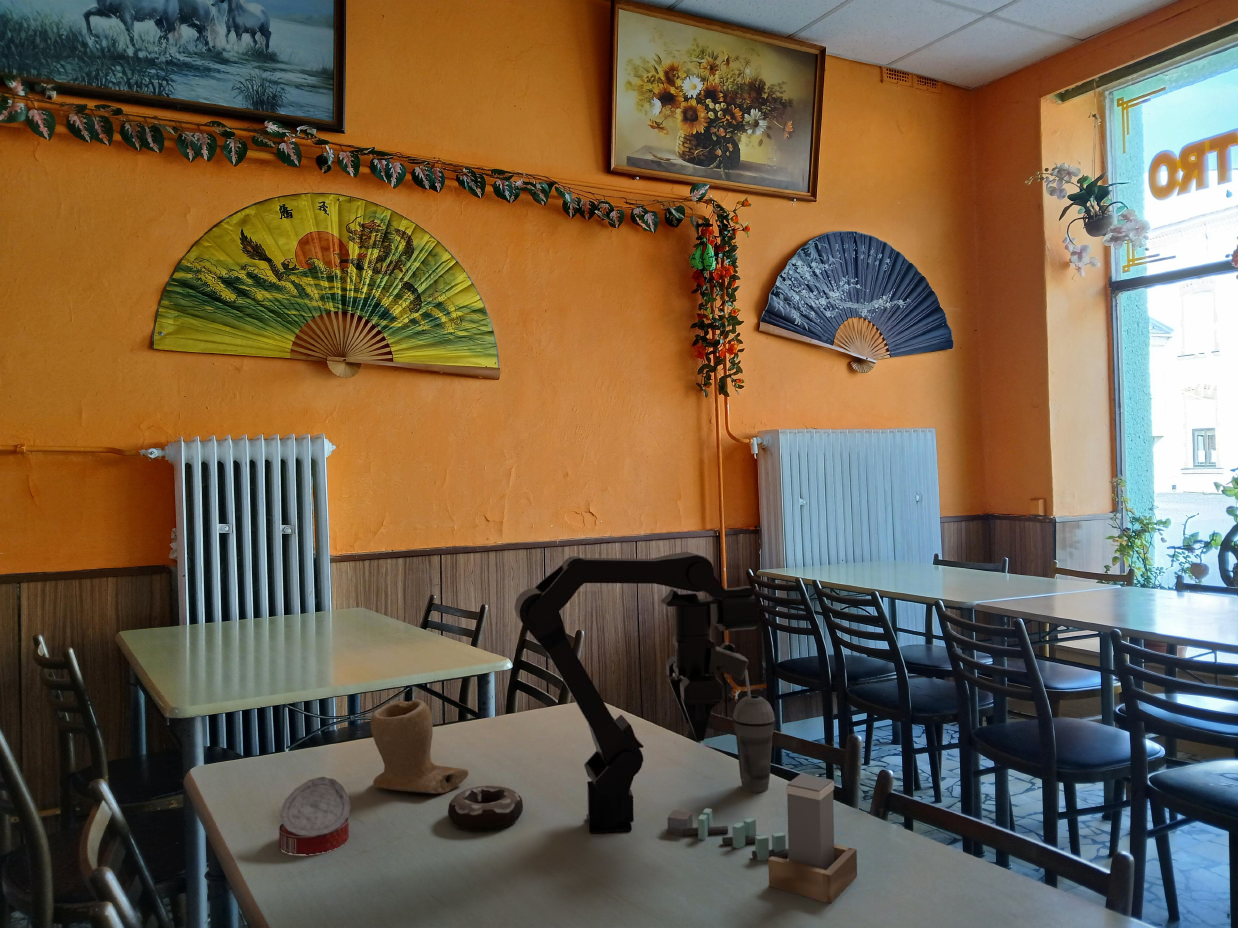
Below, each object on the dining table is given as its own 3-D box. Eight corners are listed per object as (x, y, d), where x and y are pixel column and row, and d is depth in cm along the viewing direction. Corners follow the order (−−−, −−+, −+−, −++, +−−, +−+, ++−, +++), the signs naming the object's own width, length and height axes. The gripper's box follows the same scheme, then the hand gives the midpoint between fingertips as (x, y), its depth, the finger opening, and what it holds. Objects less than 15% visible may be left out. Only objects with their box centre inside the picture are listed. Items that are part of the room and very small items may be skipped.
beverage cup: (776, 796, 147) (773, 675, 147) (731, 794, 148) (729, 674, 149) (777, 780, 154) (775, 665, 154) (735, 778, 156) (732, 664, 156)
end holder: (769, 885, 116) (768, 858, 116) (797, 859, 123) (797, 834, 123) (831, 903, 111) (830, 875, 111) (857, 875, 118) (856, 849, 118)
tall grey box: (787, 882, 117) (786, 783, 117) (802, 869, 121) (800, 773, 121) (821, 892, 114) (819, 790, 114) (835, 877, 118) (833, 779, 118)
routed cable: (694, 863, 123) (694, 856, 123) (682, 833, 133) (682, 826, 133) (789, 857, 124) (789, 850, 124) (770, 828, 134) (770, 821, 134)
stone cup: (356, 795, 151) (354, 707, 151) (400, 772, 162) (398, 690, 162) (430, 807, 145) (429, 715, 145) (470, 783, 156) (469, 697, 156)
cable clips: (770, 864, 122) (770, 842, 122) (689, 835, 132) (689, 815, 132) (793, 851, 126) (792, 830, 126) (712, 824, 136) (712, 804, 136)
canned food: (349, 863, 136) (377, 806, 135) (304, 885, 126) (335, 825, 126) (297, 819, 140) (324, 764, 139) (250, 838, 130) (279, 779, 130)
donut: (536, 812, 143) (536, 787, 143) (496, 840, 132) (496, 813, 132) (476, 801, 148) (475, 777, 148) (432, 828, 137) (432, 802, 137)
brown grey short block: (667, 832, 133) (667, 816, 133) (673, 825, 136) (673, 809, 136) (687, 835, 132) (686, 819, 132) (692, 827, 135) (692, 811, 135)
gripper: (757, 642, 132) (760, 747, 132) (730, 620, 150) (731, 713, 150) (683, 645, 131) (685, 751, 131) (664, 623, 149) (666, 716, 149)
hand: (694, 731), depth 140 cm, fingers open, 9 cm apart
